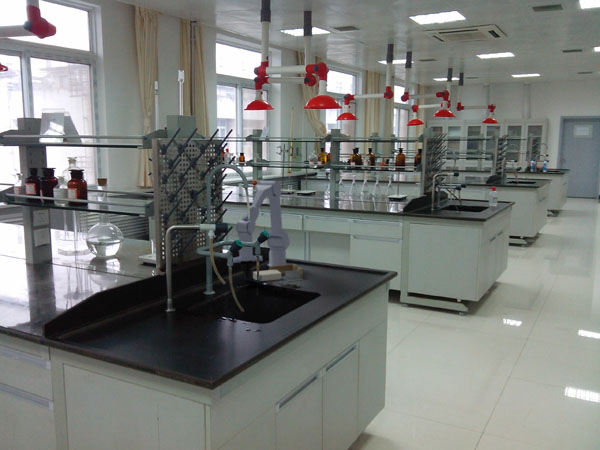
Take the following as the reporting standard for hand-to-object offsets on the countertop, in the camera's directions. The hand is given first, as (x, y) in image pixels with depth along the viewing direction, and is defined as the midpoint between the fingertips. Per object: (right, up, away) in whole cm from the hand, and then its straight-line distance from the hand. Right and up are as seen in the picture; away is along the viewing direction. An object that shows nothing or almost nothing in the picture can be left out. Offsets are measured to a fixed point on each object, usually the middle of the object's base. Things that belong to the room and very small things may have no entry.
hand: (246, 277), depth 229 cm
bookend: (+21, -1, +1) cm, 21 cm away
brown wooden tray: (+17, 0, +7) cm, 19 cm away
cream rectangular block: (+9, -1, +4) cm, 10 cm away
